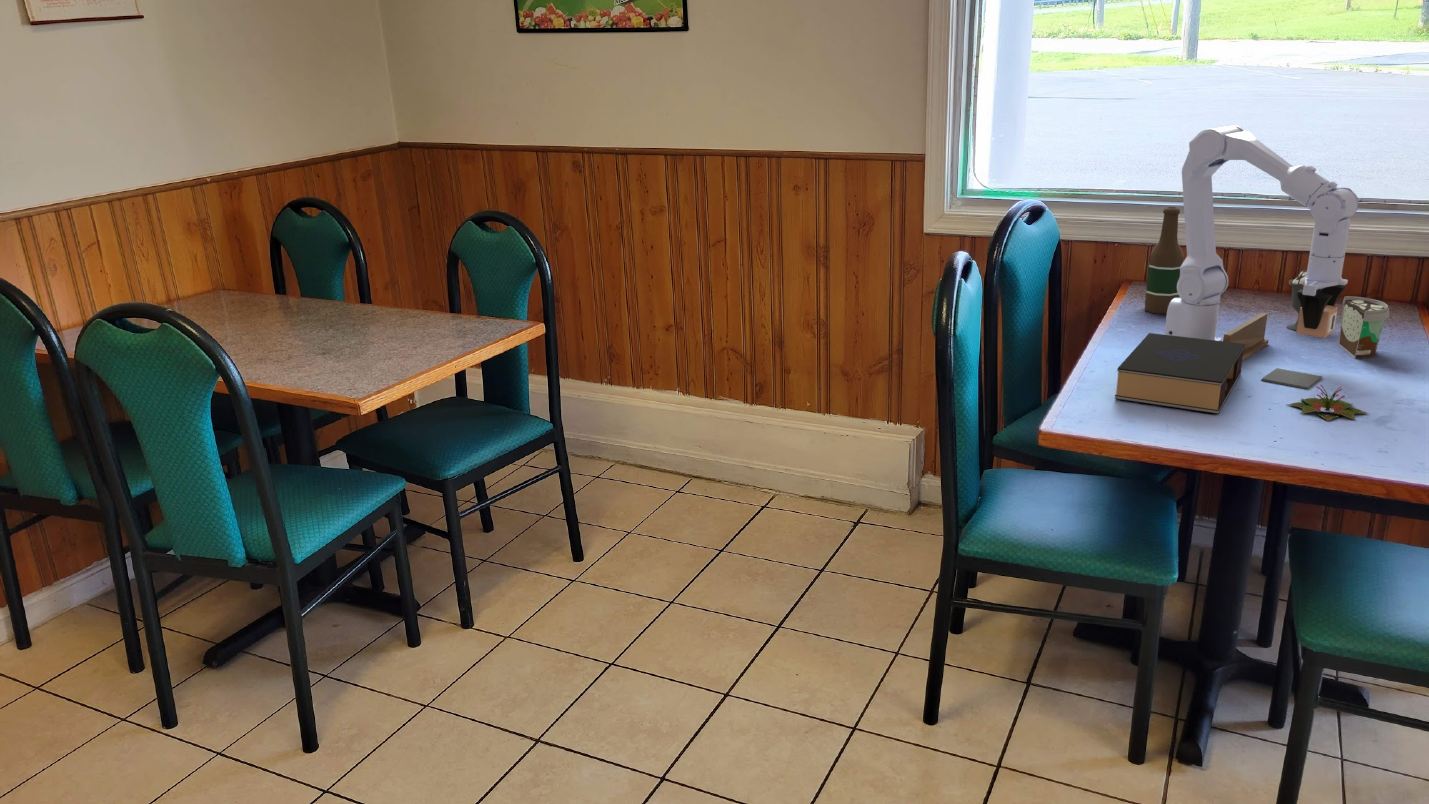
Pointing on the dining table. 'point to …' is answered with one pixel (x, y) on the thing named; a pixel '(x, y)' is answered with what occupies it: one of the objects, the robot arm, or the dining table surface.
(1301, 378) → the charcoal pad
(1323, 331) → the letter cube
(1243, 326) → the walnut screen
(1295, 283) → the sundae
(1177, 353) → the book
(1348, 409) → the lily flower
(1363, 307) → the food container
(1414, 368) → the dining table surface
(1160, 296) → the beer bottle
